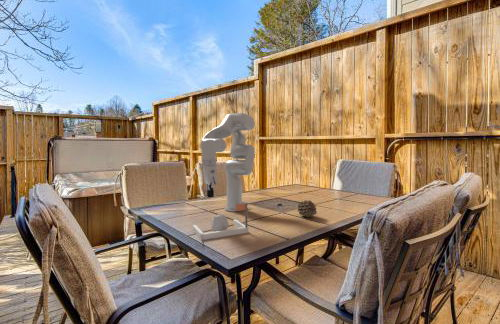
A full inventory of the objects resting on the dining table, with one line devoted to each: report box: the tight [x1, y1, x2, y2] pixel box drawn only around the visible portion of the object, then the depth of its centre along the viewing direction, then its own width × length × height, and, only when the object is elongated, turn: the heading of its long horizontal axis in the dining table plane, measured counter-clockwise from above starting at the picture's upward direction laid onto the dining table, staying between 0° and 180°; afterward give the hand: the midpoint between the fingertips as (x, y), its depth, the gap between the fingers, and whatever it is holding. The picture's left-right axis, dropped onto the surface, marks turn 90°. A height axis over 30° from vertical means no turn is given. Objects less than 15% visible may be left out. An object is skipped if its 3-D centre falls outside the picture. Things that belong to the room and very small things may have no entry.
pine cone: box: [293, 199, 318, 218], centre depth 163 cm, size 22×10×10 cm, turn 26°
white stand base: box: [192, 202, 249, 241], centre depth 135 cm, size 23×16×14 cm
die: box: [209, 213, 230, 232], centre depth 134 cm, size 8×9×10 cm
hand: (210, 196), depth 150 cm, fingers closed
